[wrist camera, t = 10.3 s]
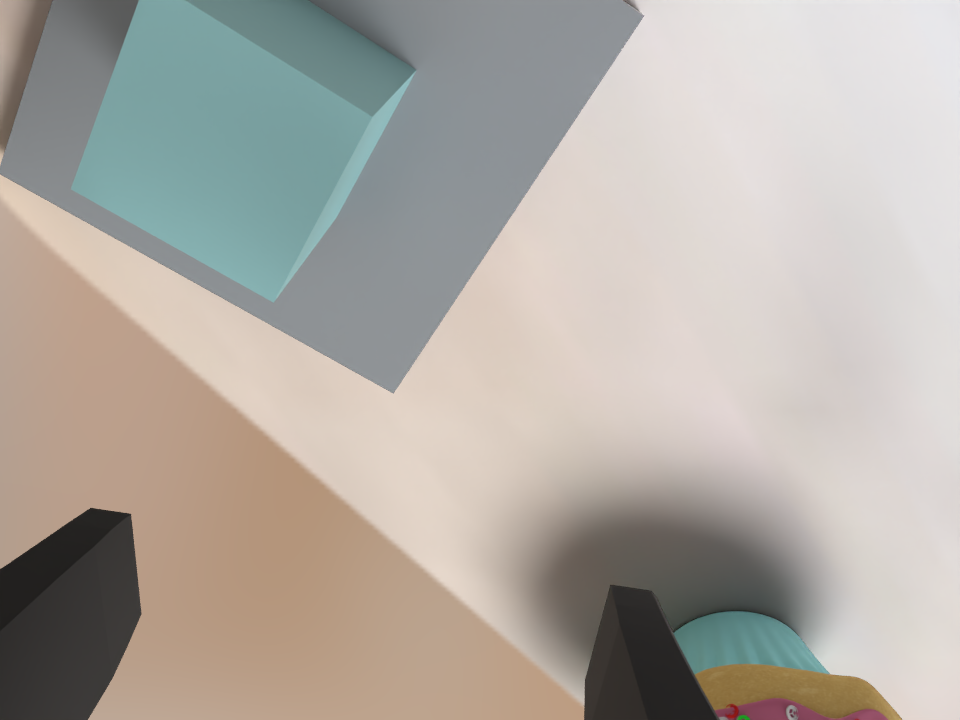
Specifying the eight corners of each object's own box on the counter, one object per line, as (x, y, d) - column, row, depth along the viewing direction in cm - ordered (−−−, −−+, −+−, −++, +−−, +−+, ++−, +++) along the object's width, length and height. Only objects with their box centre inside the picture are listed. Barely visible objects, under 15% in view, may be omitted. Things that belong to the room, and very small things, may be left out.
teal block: (416, 70, 18) (372, 116, 13) (336, 218, 20) (273, 302, 15) (251, -36, 17) (147, -24, 13) (182, 128, 19) (70, 189, 14)
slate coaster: (640, 12, 18) (644, 15, 17) (398, 378, 22) (393, 393, 22) (174, -317, 16) (156, -329, 15) (17, 164, 20) (-3, 173, 20)
